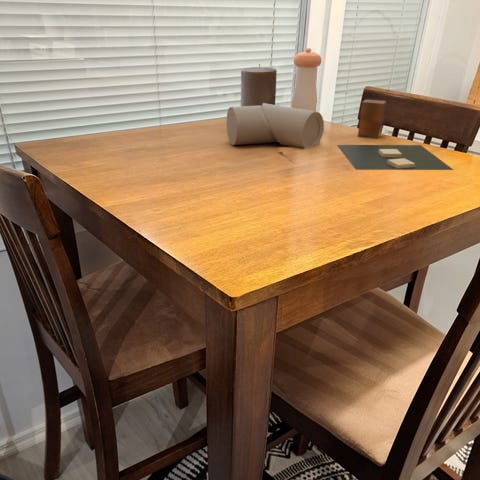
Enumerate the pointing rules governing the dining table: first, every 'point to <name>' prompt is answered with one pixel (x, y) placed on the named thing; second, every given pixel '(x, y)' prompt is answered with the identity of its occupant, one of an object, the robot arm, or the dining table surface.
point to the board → (372, 160)
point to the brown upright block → (371, 118)
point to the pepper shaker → (306, 80)
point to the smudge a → (389, 153)
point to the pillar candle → (258, 86)
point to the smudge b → (400, 163)
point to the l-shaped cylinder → (274, 125)
